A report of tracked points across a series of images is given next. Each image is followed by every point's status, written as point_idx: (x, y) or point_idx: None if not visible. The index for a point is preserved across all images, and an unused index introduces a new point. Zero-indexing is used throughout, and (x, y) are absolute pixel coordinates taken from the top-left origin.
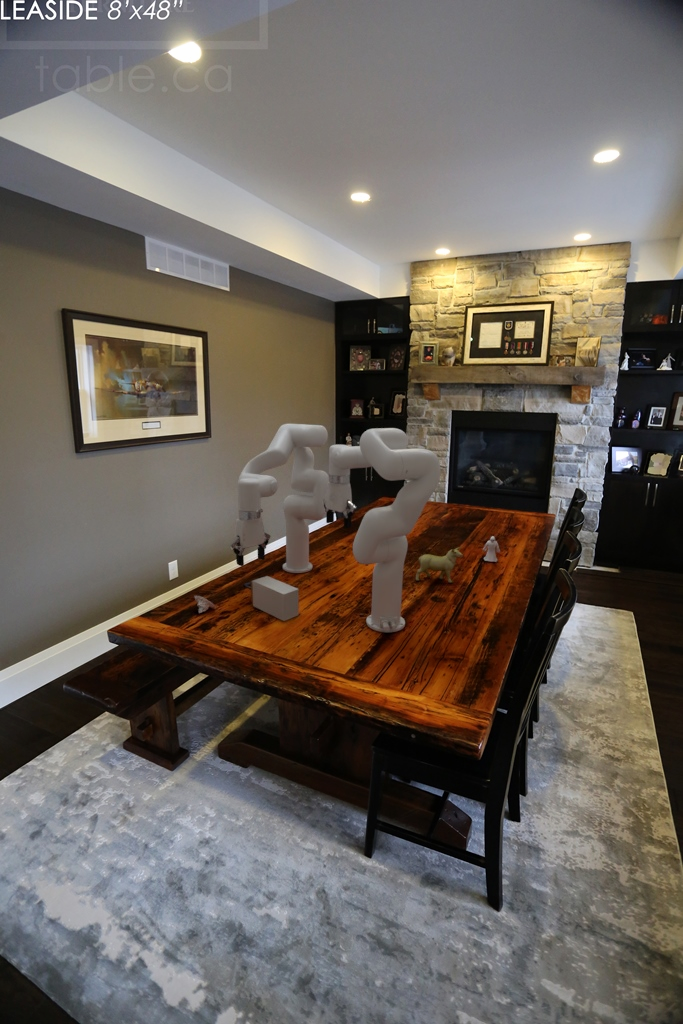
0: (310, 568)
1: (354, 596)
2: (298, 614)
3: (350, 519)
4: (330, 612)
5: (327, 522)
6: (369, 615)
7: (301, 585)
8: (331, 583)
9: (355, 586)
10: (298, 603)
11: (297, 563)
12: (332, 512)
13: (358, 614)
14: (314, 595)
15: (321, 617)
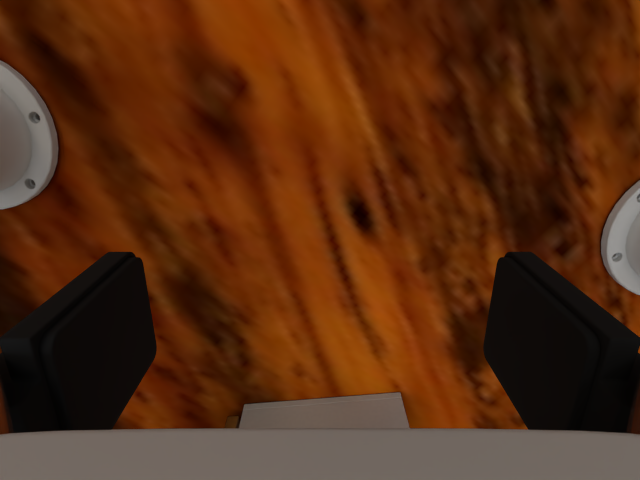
0: (38, 102)
1: (426, 148)
2: (400, 394)
3: (634, 368)
4: (459, 310)
5: (148, 357)
6: (608, 250)
7: (191, 246)
8: (247, 129)
9: (348, 59)
10: (408, 423)
11: (3, 176)
12: (58, 374)
13: (546, 250)
14: (308, 266)
15: (464, 352)
